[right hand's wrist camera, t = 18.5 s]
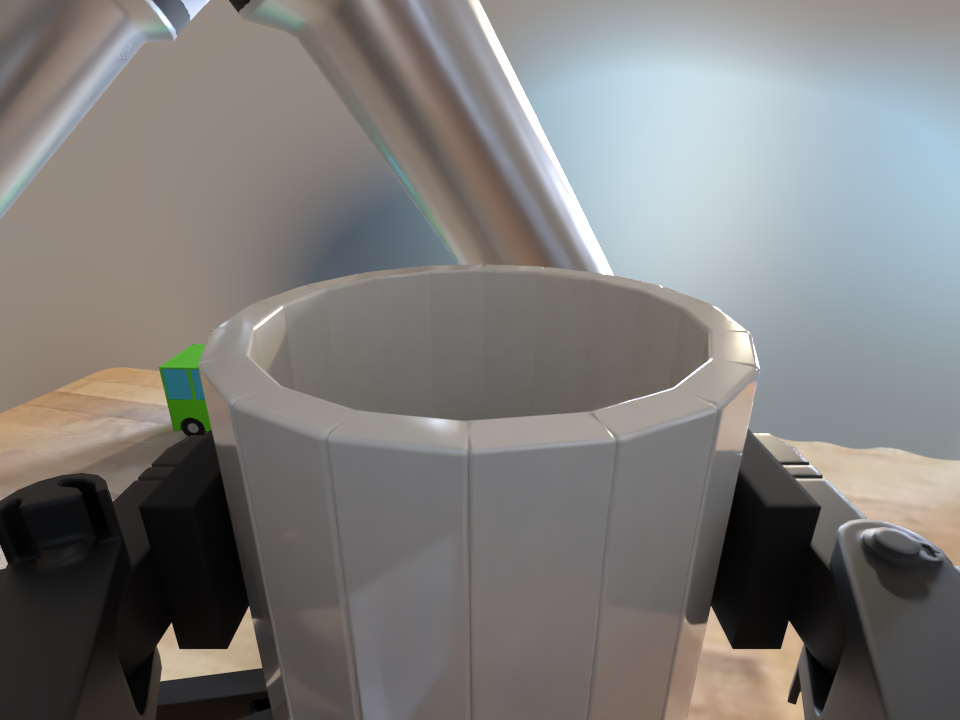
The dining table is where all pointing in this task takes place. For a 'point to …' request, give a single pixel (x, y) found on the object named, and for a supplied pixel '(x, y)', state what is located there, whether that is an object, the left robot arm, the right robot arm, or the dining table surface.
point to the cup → (479, 490)
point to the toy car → (186, 392)
